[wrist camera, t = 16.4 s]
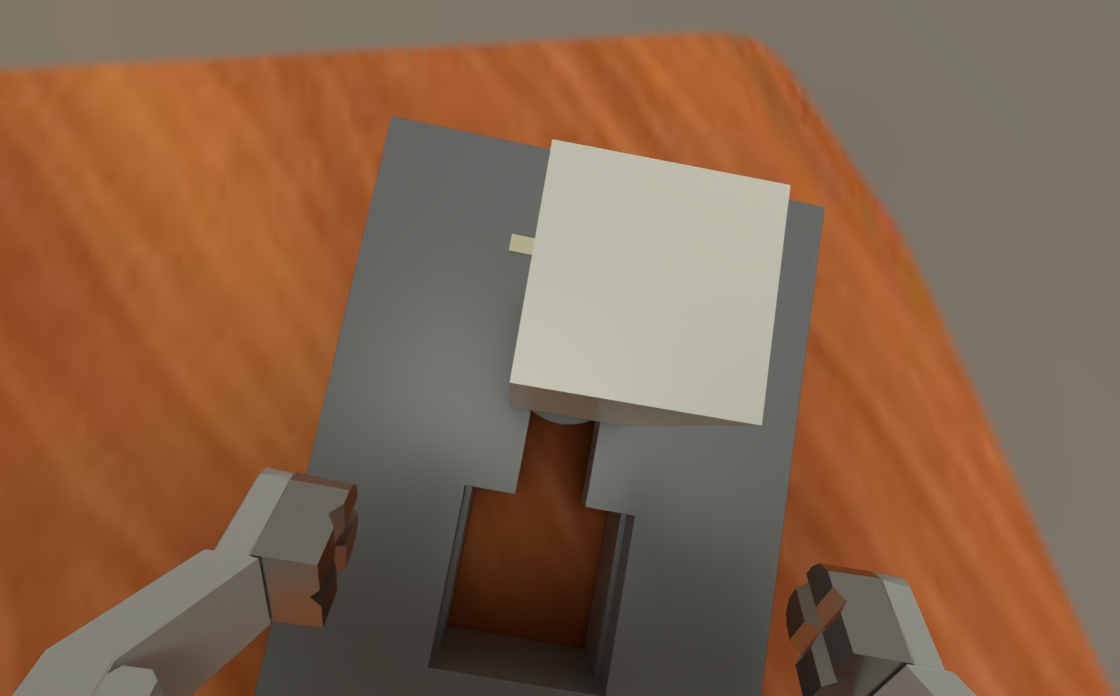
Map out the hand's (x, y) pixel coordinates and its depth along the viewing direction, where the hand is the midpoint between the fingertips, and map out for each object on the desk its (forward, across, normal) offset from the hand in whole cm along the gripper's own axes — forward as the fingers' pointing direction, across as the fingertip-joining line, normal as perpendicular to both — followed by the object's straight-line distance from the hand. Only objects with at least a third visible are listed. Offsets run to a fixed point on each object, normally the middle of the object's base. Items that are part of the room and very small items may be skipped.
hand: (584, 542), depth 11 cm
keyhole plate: (+11, 0, +10) cm, 14 cm away
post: (+13, 0, +7) cm, 15 cm away
